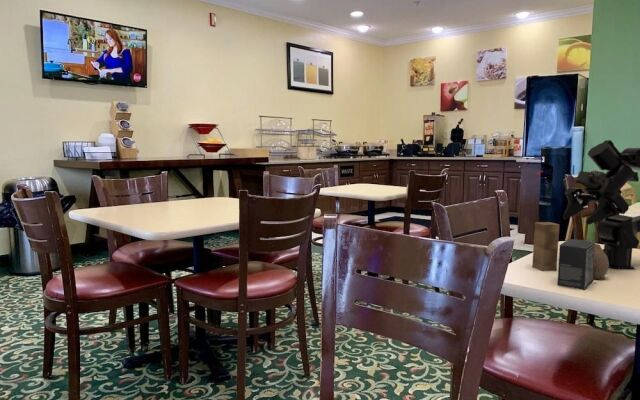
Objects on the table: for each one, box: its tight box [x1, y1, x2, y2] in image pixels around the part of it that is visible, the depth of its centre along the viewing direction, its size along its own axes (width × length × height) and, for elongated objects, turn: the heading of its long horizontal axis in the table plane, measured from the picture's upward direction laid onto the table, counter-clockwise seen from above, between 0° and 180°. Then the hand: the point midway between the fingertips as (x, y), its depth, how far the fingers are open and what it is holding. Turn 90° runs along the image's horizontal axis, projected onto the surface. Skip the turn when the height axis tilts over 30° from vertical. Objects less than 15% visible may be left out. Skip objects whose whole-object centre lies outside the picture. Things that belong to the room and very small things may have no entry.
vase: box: [593, 243, 610, 280], centre depth 123 cm, size 7×7×9 cm
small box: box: [557, 238, 596, 291], centre depth 117 cm, size 11×6×10 cm, turn 141°
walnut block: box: [531, 221, 560, 272], centre depth 131 cm, size 4×4×13 cm
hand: (575, 220), depth 131 cm, fingers open, 9 cm apart
